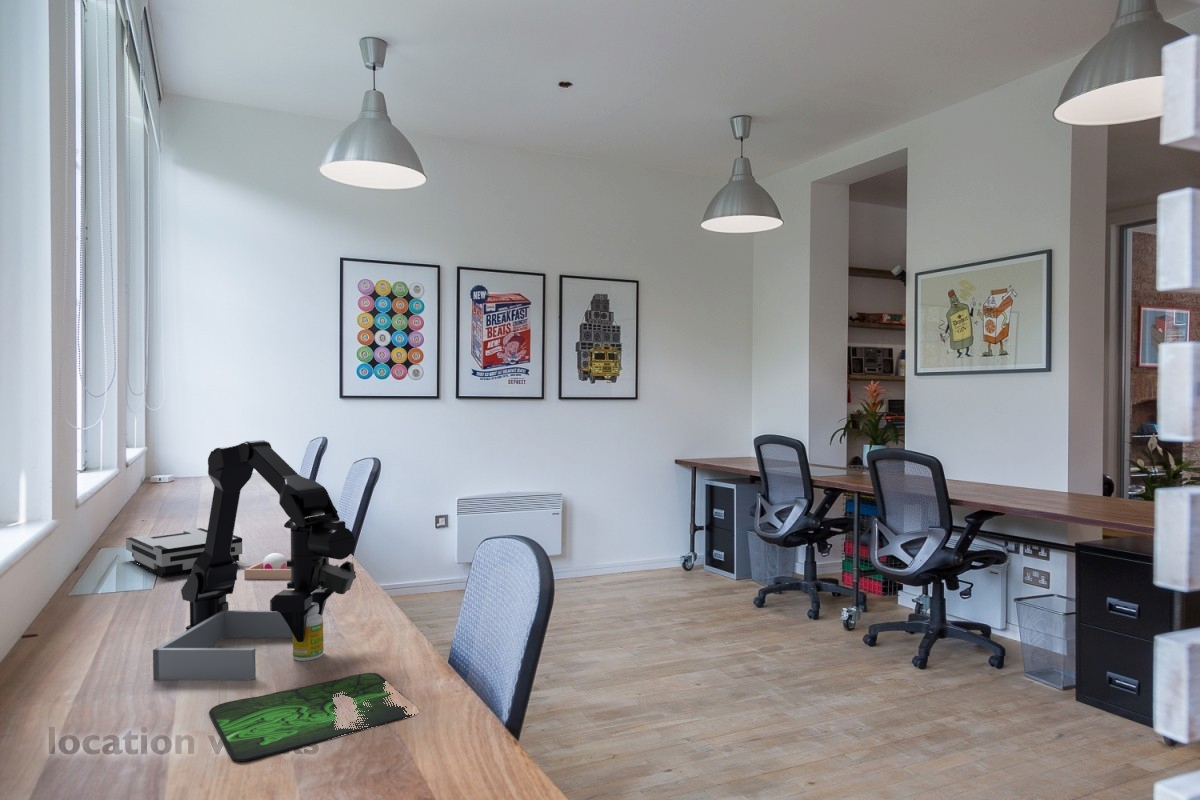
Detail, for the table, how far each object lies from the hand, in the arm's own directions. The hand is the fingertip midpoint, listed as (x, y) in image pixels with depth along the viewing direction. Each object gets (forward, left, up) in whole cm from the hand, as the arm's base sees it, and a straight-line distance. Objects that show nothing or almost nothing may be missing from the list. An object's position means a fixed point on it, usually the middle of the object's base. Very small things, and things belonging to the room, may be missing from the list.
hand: (308, 635), depth 142 cm
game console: (-68, +75, -4) cm, 101 cm away
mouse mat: (+11, -24, -5) cm, 27 cm away
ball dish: (-34, +63, -4) cm, 72 cm away
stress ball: (-35, +61, -4) cm, 71 cm away
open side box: (-14, 0, -4) cm, 14 cm away
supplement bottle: (0, 0, -4) cm, 4 cm away
